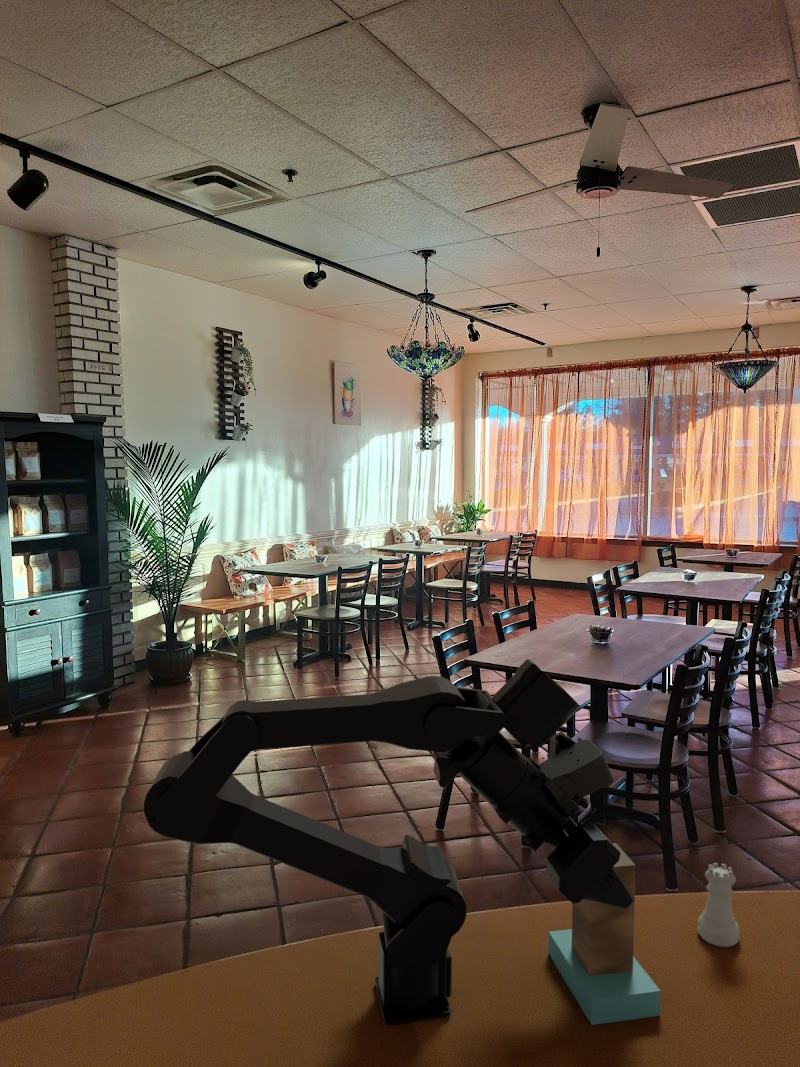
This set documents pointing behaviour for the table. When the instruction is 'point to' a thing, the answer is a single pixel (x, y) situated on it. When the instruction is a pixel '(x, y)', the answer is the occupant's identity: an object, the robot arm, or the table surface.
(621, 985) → the base block
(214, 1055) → the table surface
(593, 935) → the tan wooden block
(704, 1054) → the table surface
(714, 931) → the rook chess piece
